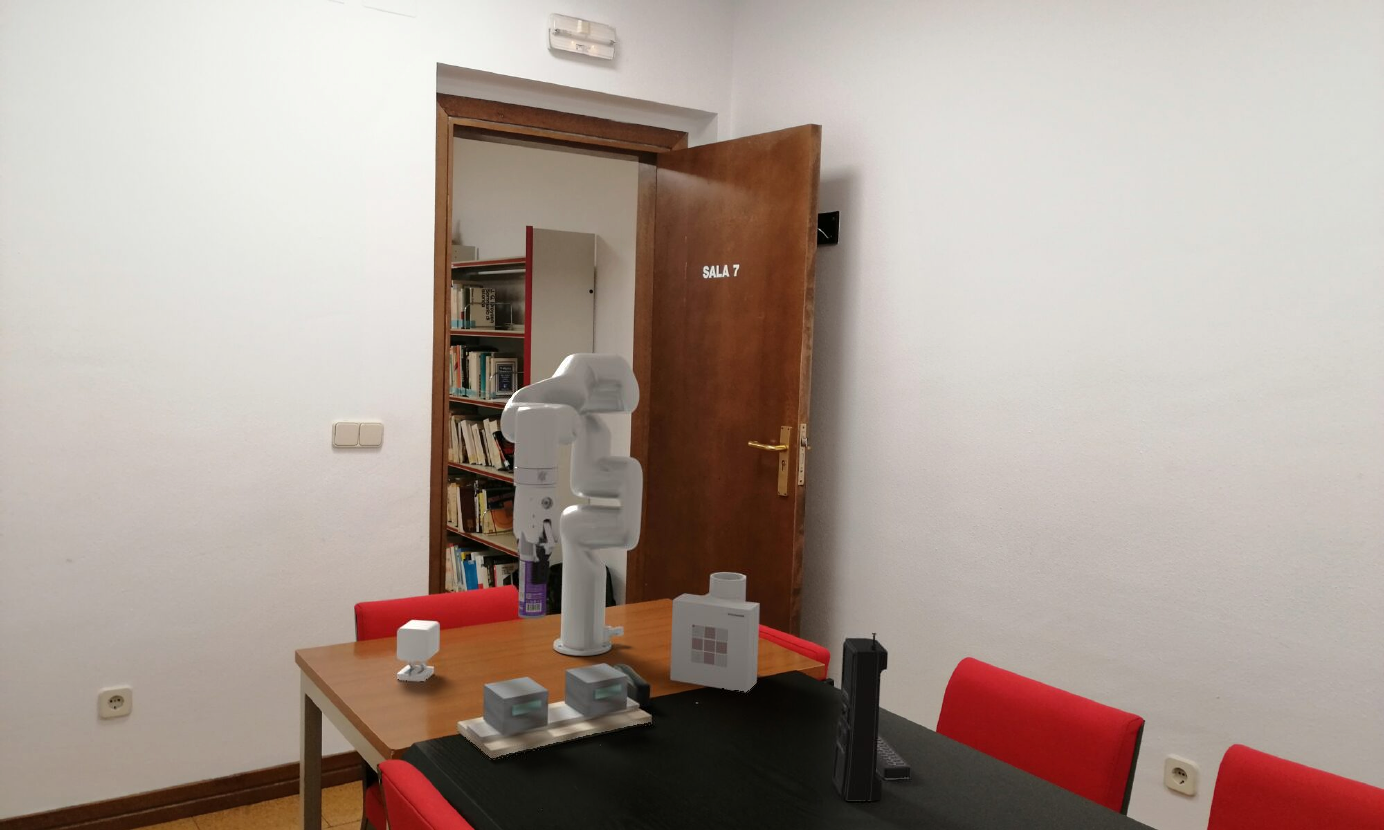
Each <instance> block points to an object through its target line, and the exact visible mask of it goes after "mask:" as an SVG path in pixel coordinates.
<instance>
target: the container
mask: <svg viewBox="0 0 1384 830" xmlns="http://www.w3.org/2000/svg"><path fill="white" fill-rule="evenodd" d="M538 543H545V541H544V539H543V540H539V542H538ZM541 548H543V547H538V551H540V549H541ZM519 556H520V574H519V577H518V579H519V580H518V581H519V582H518V584H519V586H518V617H519V618H521V619H525V620H526V619H527V620H536V619H542V618H544V617H546V611H547V610H546V604H547V603H546V601H547V584H537V585H533V584H531V561H534V558H533V546H532V544H531V543H529V542H527V541H526V538H525V535H524V532H521V546H520V555H519Z"/></svg>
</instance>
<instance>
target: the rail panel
mask: <svg viewBox="0 0 1384 830" xmlns="http://www.w3.org/2000/svg"><path fill="white" fill-rule="evenodd" d="M613 667H614V666H613ZM613 667H612V666H611V665H609V664H607V663H605V662H603V663H597V664H594V665H593V664H592V665H587V666H582V667H576V668H571V669H566V670H565V679H564V681H565V682H564V700H561V701H556V702H553V703H549V689H547V688H546V687H544V686H543V685H540V684H539V683H538V682H536V681H535V680H533V679H532V678H530V677H528V676H524V677H518V678H512V679H507V680H502V681H496V682H491V683H484V684H483V709H482V710H483V711H482V714H483V715H482V716H481V717H476V718H475V717H474V718H471V719H465V720H461V721H457V732H458V733H459V734H461V736H463V737H464V738H465V737H466V738H465V739H466V740H467V741H469V740H470V741H469V742H470V743H471V742H472V743H473V744H475V745H476V746H477V747H478V748H479V749H481V751H483V752H484V753H485V754H486V755H488V756H489V757H490V758H496V757H499V756H501V755H506V754H509V753H515V752H518V751H523V750H526V749H533V748H537V747H540V746H545V745H548V744H553V743H556V742H563V741H566V740H571V739H575V738H578V737H583V736H586V735H592V734H594V733H601V732H605V731H611V730H614V729H618V728H624V727H627V726H633V725H637V724H644V723H648V722H651V723H652V717H653V716H652V714H650V713H648V712H646V711H645V710H642V709H641V708H639V707H640V704H638V703H637V702H635V701H633V700H632V699H630V698H628V697H627V682H628V676H627V675H626V674H624V673H622V672H620V671H618V670H616V669H614V668H613ZM472 743H471V744H472ZM473 744H472V745H473ZM475 745H474V746H475ZM476 746H475V747H476ZM477 747H476V748H477ZM478 748H477V749H478ZM479 749H478V750H479ZM481 751H480V752H481ZM483 752H482V753H483ZM484 753H483V754H484ZM485 754H484V755H485ZM486 755H485V756H486ZM490 758H489V759H490Z"/></svg>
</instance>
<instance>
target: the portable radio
mask: <svg viewBox="0 0 1384 830" xmlns="http://www.w3.org/2000/svg"><path fill="white" fill-rule="evenodd" d="M871 635H872V638H866V637H865V638H864V637H846V638H845V640H844V642H843V643H842V661H841V662H842V663H841V677H840V678H841V681H840V682H841V684H840V693H841V695H842V696H841V697H842V698H841V708H840V709H841V711H840V713H841V714H838V716H837V727H836V728H837V729H836V740H835V741H836V742H835V752H834V762H833V770H832V782H833V784H834V786H835V788H836V790H837V792H838V793H839V795H840V797H841V798H842V799H843V798H844V799H845V800H862V801H863V800H865V801H868V800H876V801H880V800H882V786H883V783H882V782H883V781H882V780H883V779H882V778H881V776H880V775H879V774H878V773H877V772H876V767H877V743H878V733H879V719H880V718H879V717H880V716H879V715H880V696H881V695H880V694H881V693H880V692H881V677H882V675H881V674H882V673H883V671H885V670H888V661H889V660H888V656H889V652H888V651H887V649H886V648H885V647H884V646H883V645H882V644H881V643H880V642H879V641H878V640H877V639H876V635H877V632H872V633H871ZM844 799H843V800H844ZM879 799H880V800H879Z"/></svg>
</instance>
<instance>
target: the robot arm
mask: <svg viewBox="0 0 1384 830" xmlns="http://www.w3.org/2000/svg"><path fill="white" fill-rule="evenodd" d="M639 387H640V386H639V383H638V380H637V378H636V376H635V373H634V371H633V369H632V367H631V365H630V364H629V362H628V361H627V359H626V358H625V357H623V356H621V355H619V354H618V353H617V354H615V353H592V352H590V353H589V352H579V353H573V354H570V355H568V356H566V358H565V359H564V360H563V361H562V362H561V364H560V365H559V366H558V368H557V369H556V371H555V372H554V374H553V375H552V376H551V377H550V378H547V379H544V380H541V381H539V382H535V383H533V384H530V385H527V386H524V387H522V388H520V389H519V390H517V391H516V392H514V393H513V395H512V396H511V398H510V399H509V400H508V401H507V402H506V403H505V404H506V405H505V406H504V409H503V410H502V413H501V418H500V431H501V433H502V436H503V438H505V440H506V441H508V442H510V443H512V444H513V443H514V463H513V465H514V466H513V486H514V487H515V491H514V492H515V493H514V500H513V501H514V502H513V517H512V521H513V522H512V527H513V529H512V531H513V535H514V536H515V539H516V543H517V555H518V556H517V557H518V558H517V559H518V561H517V578H519V574H520V546H521V532H524V535H525V538H526V541H527V542H529V543H531V544H532V546H533V558H534V561H531V584H533V585H537V584H546V585H547V584H549V582H550V561H551V559H552V557H551V556H552V553H553V551H554V550H555V548H556V544H557V543H558V542H559V541H560V540H561V551H562V554H561V555H562V577H561V578H562V579H561V580H562V581H561V582H562V583H561V584H562V585H561V616H560V617H561V620H560V637H559V638H557V639H555V640H553V645H552V646H553V649H554V650H555V651H556V652H558V653H560V654H564V655H568V656H576V657H577V656H579V657H585V656H588V657H589V656H595V655H596V656H597V655H601V654H606V652H609V651H610V650H611V649H612V642H611V640H610V639H611V638H612V637H619V636H623V635H624V633H625V628H624V627H623V626H622V625H621V626H615V627H613V626H612V625H608V626H607V625H606V623H605V622H606V594H607V593H606V592H607V591H606V589H607V587H606V586H607V568H606V564H605V562H604V560H603V559H602V557H601V555H600V554H599V553H598V551H597V550H604V551H605V550H607V551H608V550H611V551H631V550H633V549H635V548H636V547H637V546H638V543H639V540H640V535H641V525H642V524H641V522H642V503H643V502H642V501H643V489H644V487H643V485H644V484H643V483H644V482H643V481H644V478H643V469H642V465H641V464H640V462H639V460H637V459H636V458H634V457H631V456H625V455H624V456H623V455H622V456H621V455H620V456H619V455H612V454H611V446H612V432H611V430H610V428H609V426H608V424H607V423H606V422H605V420H604V419H603V417H602V416H601V415H600V414H608V415H610V414H612V415H629V414H632V413H633V412H634V411H636V409H637V407H638V405H639V401H640V388H639ZM568 445H571V455H570V456H571V457H570V468H569V469H570V470H569V471H570V472H569V487H570V488H569V489H570V490H571V493H572V494H573V495H575V496H576V497H579V498H583V499H584V498H586V499H595V500H597V499H598V500H614V501H618V502H619V504H620V506H619V505H603V504H589V503H588V504H587V503H586V504H585V503H581V504H573V505H569V506H567V507H566V508H565V509H564V510H563V511H562V512H561V514H560V502H559V501H560V500H559V493H558V477H559V475H558V474H559V473H558V472H559V446H568ZM543 539H544V541H545V543H538V542H539V540H543ZM538 547H543V548H541V549H540V551H538Z"/></svg>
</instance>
